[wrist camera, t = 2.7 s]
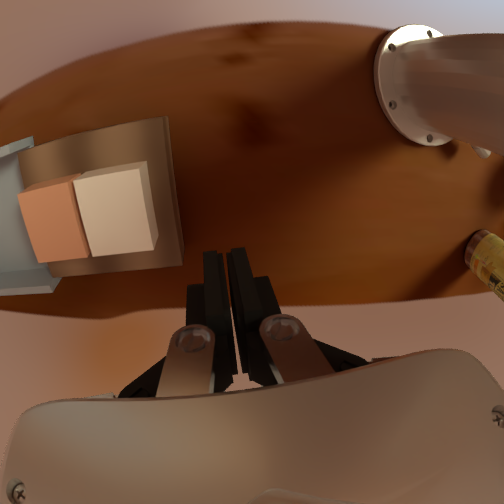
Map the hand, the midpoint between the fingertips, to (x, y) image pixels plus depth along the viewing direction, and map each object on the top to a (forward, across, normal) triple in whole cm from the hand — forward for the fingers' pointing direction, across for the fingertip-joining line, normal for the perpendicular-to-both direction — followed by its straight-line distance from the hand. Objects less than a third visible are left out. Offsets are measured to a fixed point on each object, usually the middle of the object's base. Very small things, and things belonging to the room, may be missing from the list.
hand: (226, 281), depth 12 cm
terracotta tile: (+12, +13, 0) cm, 17 cm away
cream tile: (+11, +7, 0) cm, 14 cm away
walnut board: (+14, +10, 0) cm, 17 cm away
